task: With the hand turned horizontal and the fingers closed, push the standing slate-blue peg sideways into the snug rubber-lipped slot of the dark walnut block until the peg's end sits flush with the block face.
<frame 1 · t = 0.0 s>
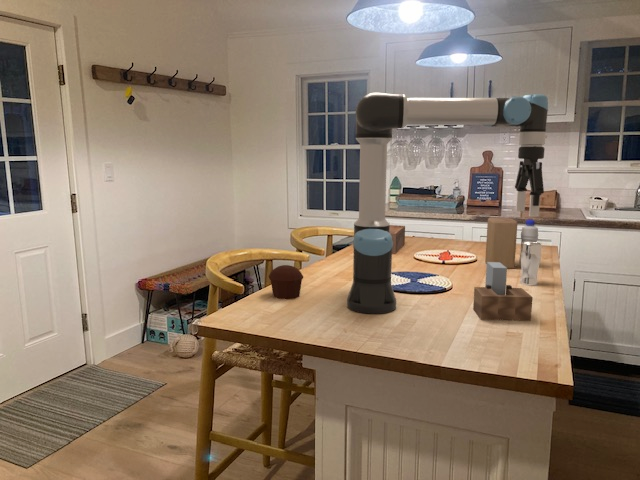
hand: (526, 213, 166), 28 cm above the countertop, tool pointing down, fingers open, 13 cm apart
muffin: (286, 296, 173), on the countertop
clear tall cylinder: (528, 284, 190), on the countertop
socket block: (500, 314, 154), on the countertop
tissue box cover: (385, 249, 256), on the countertop
bottle: (527, 267, 216), on the countertop
peg: (495, 285, 161), point 7 cm above the countertop, slide at 0.0 cm
wooden block: (499, 266, 218), on the countertop
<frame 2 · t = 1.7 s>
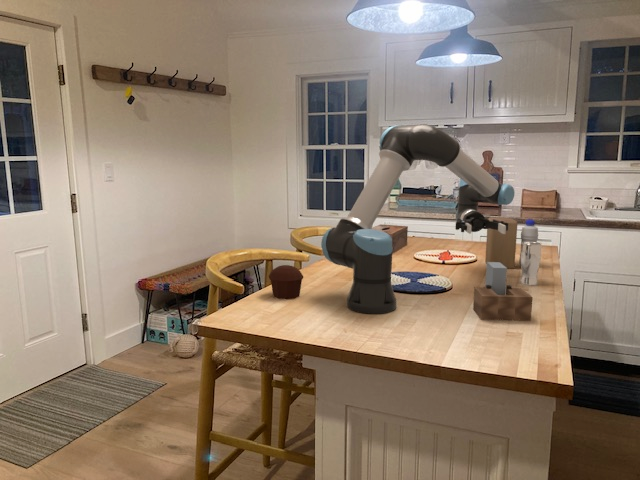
hand: (487, 229, 171), 22 cm above the countertop, tool horizontal, fingers open, 10 cm apart
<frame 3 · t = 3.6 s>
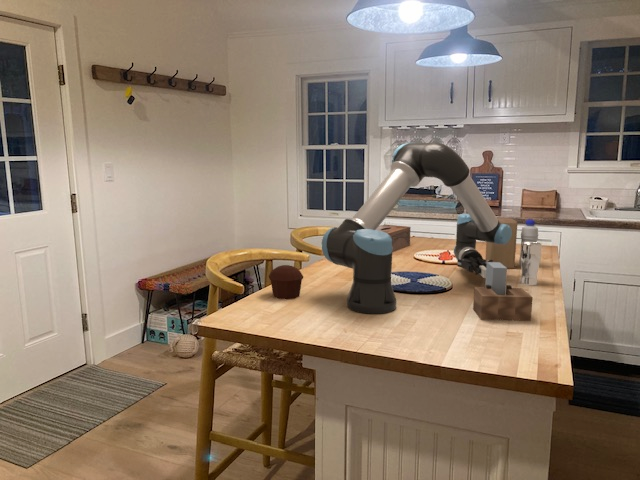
hand: (485, 274, 173), 7 cm above the countertop, tool horizontal, fingers closed
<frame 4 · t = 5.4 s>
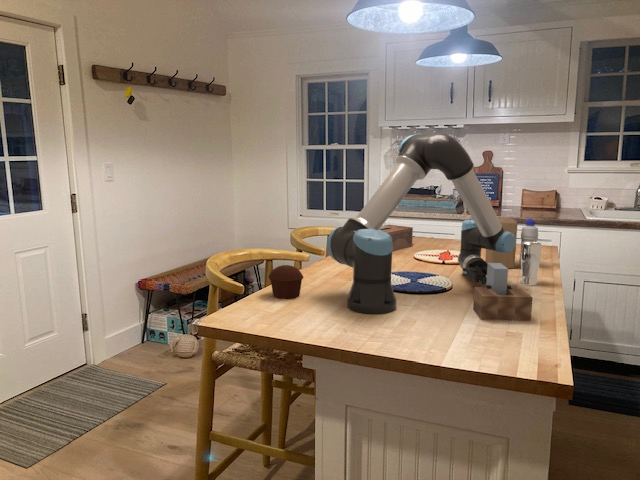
hand: (493, 284, 164), 6 cm above the countertop, tool horizontal, fingers closed
peg: (496, 286, 159), point 7 cm above the countertop, slide at 1.1 cm, touching gripper
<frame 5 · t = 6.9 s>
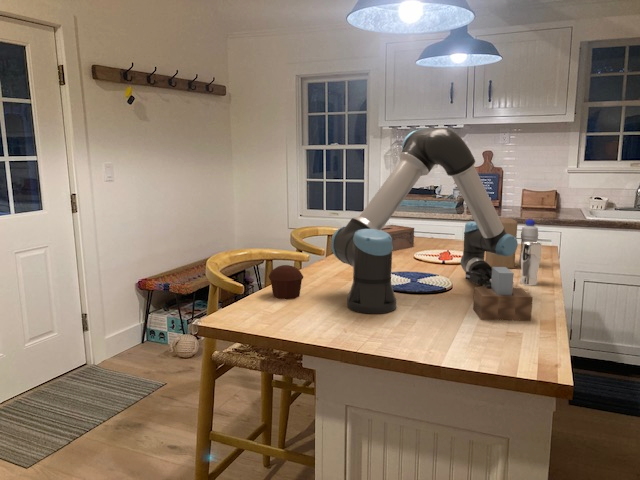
hand: (497, 288, 158), 6 cm above the countertop, tool horizontal, fingers closed
peg: (501, 291, 154), point 7 cm above the countertop, slide at 6.6 cm, touching gripper
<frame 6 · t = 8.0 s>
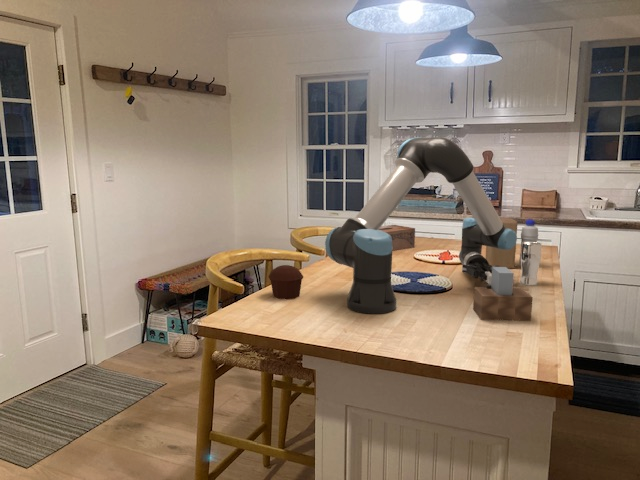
hand: (491, 280, 167), 7 cm above the countertop, tool horizontal, fingers closed
peg: (501, 291, 154), point 7 cm above the countertop, slide at 6.6 cm
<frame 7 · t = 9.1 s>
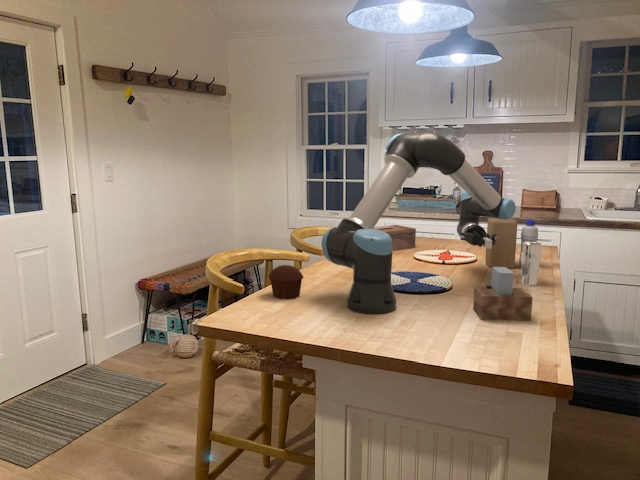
hand: (489, 244, 171), 17 cm above the countertop, tool horizontal, fingers closed
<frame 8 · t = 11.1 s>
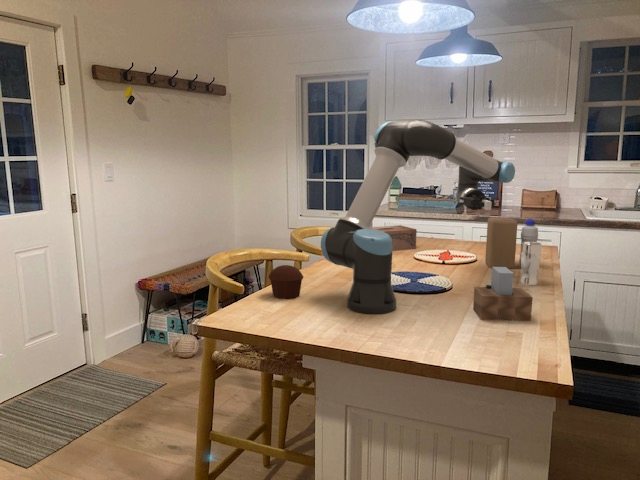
hand: (489, 205, 170), 30 cm above the countertop, tool horizontal, fingers closed
at the end: peg slide at 6.6 cm; the gripper is holding nothing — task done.
